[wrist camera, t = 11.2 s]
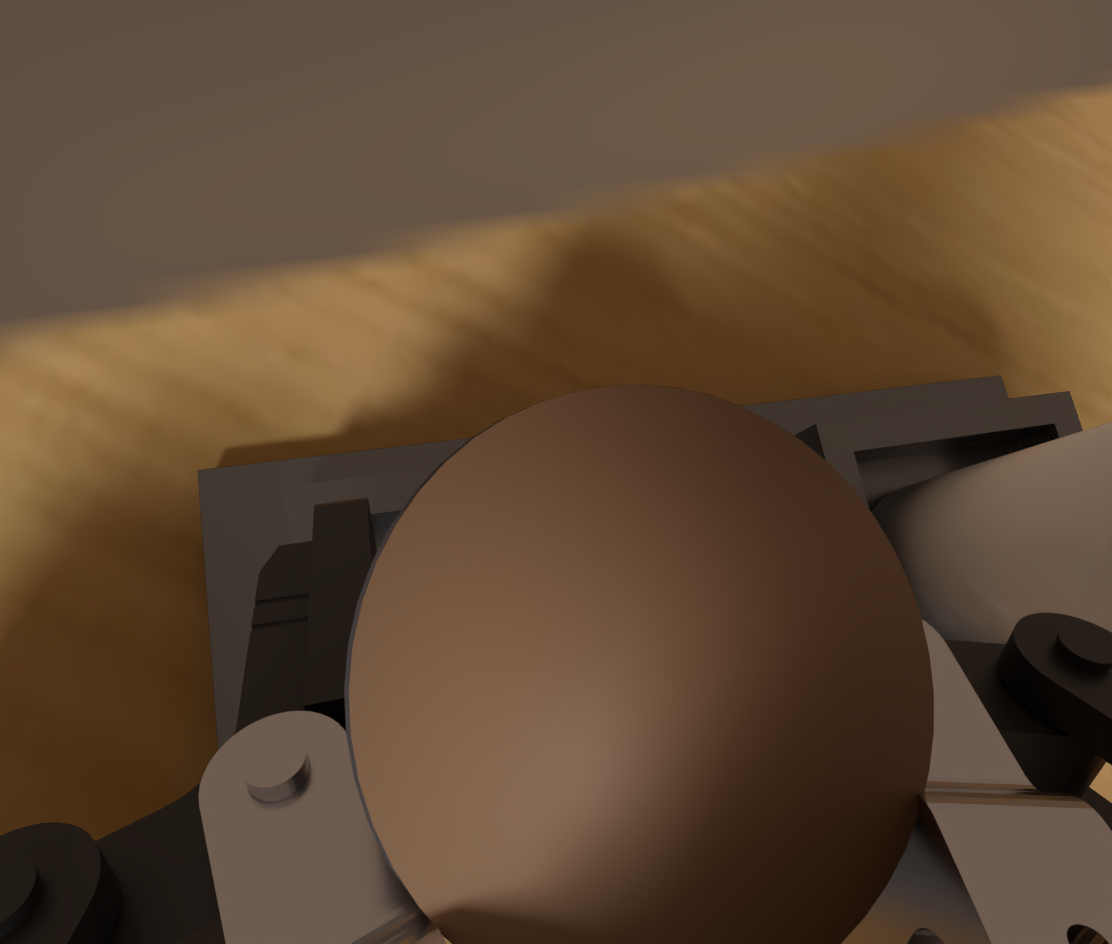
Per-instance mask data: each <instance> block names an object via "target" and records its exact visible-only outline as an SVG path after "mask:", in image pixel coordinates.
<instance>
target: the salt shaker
mask: <svg viewBox="0 0 1112 944" xmlns="http://www.w3.org/2000/svg"><path fill="white" fill-rule="evenodd" d="M871 513H872V514H873V515H874V517H875V518H876V520H877V522H878V523H879V525H880V527H881V528H882V530H883V531H884V533H885V535H886V536H887V538H888V540H889V541H890V543H891V545H892V546H893V548H894V550H895V552H896V554H897V556H898V559H899V561H900V563H901V565H902V567H903V569H904V572H905V574H906V576H907V578H908V580H909V582H910V585H911V588H912V591H913V594H914V597H915V600H916V603H917V606H918V609H919V612H920V615H921V618H922V620H924V621H925V622H927V623H928V624H929V625H930V626H932V627H933V628H934V629H935V630H936V631H937V632H938V633H939V634H940V635H941V637H942V638H943V639H944V640H956V641H970V642H984V643H998V644H1006V643H1007V641H1008V639H1009V637H1010V635H1011V633H1012V631H1013V629H1014V627H1015V625H1016V623H1017V622H1018V621H1019V620H1020V619H1021V618H1023V617H1025V616H1027V615H1031V614H1035V613H1057V614H1064V615H1068V616H1073V617H1077V618H1080V619H1083V620H1086V621H1088V622H1091V623H1093V624H1096V625H1098V626H1100V627H1102V628H1104V629H1106V630H1108V631H1110V632H1112V422H1110V423H1107V424H1103V425H1100V426H1097V427H1094V428H1091V429H1087V430H1084V431H1081V432H1078V433H1074V434H1071V435H1068V436H1065V437H1062V438H1058V439H1055V440H1052V441H1049V442H1046V443H1042V444H1039V445H1036V446H1033V447H1030V448H1026V449H1023V450H1020V451H1017V452H1014V453H1010V454H1007V455H1004V456H1001V457H997V458H994V459H991V460H988V461H985V462H981V463H978V464H975V465H972V466H969V467H965V468H962V469H959V470H956V471H953V472H949V473H946V474H943V475H940V476H937V477H933V478H930V479H927V480H924V481H920V482H917V483H914V484H911V485H908V486H904V487H902V488H899V489H897V490H895V491H893V492H891V493H890V494H888V495H887V496H886V497H884V498H883V499H882V500H881V501H880V502H879V503H878V504H877V505H876V507H875V508H874V509H873V511H872V512H871Z"/></svg>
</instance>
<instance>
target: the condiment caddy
mask: <svg viewBox="0 0 1112 944" xmlns="http://www.w3.org/2000/svg"><path fill="white" fill-rule="evenodd" d="M742 407H744V408H746V409H748V410H750V411H752V412H754V413H756V414H758V415H760V416H762V417H764V418H766V419H768V420H770V421H772V422H774V423H775V424H777V425H778V426H780V427H781V428H783V429H784V430H786V431H787V432H789V433H790V434H792V435H794V436H795V437H797V438H798V439H800V440H801V441H802V442H804V443H805V444H806V445H807V446H809V447H810V448H811V449H812V450H813V451H815V452H816V453H817V454H818V455H819V456H821V457H822V458H823V459H824V460H825V461H827V462H828V463H829V464H830V465H831V466H832V467H833V468H834V469H835V470H836V471H837V472H838V474H839V475H840V476H841V477H842V478H843V479H844V480H845V481H846V482H847V483H848V484H849V485H850V486H851V487H852V488H853V489H854V491H855V492H856V493H857V495H858V496H859V497H860V498H861V500H862V501H863V502H864V504H865V505H866V506H867V508H868V509H869V510H870V512H872V511H873V509H874V508H875V507H876V505H877V504H878V503H879V502H880V501H881V500H882V499H883V498H884V497H886V496H887V495H888V494H890V493H891V492H893V491H895V490H897V489H899V488H902V487H904V486H908V485H911V484H914V483H917V482H920V481H924V480H927V479H930V478H933V477H937V476H940V475H943V474H946V473H949V472H953V471H956V470H959V469H962V468H965V467H969V466H972V465H975V464H978V463H981V462H985V461H988V460H991V459H994V458H997V457H1001V456H1004V455H1007V454H1010V453H1014V452H1017V451H1020V450H1023V449H1026V448H1030V447H1033V446H1036V445H1039V444H1042V443H1046V442H1049V441H1052V440H1055V439H1058V438H1062V437H1065V436H1068V435H1071V434H1074V433H1078V432H1081V431H1083V430H1082V427H1081V424H1080V421H1079V418H1078V415H1077V412H1076V409H1075V406H1074V403H1073V400H1072V398H1071V395H1070V392H1069V391H1067V392H1059V393H1051V394H1043V395H1036V396H1028V397H1020V398H1012V399H1008V396H1007V393H1006V390H1005V387H1004V383H1003V380H1002V377H1001V375H1000V376H992V377H983V378H975V379H966V380H958V381H949V382H941V383H932V384H924V385H915V386H907V387H898V388H890V389H881V390H873V391H865V392H856V393H848V394H839V395H831V396H822V397H814V398H805V399H797V400H788V401H780V402H771V403H763V404H755V405H746V406H742ZM469 439H471V438H467V439H458V440H450V441H441V442H433V443H424V444H416V445H408V446H399V447H391V448H382V449H374V450H365V451H357V452H348V453H340V454H331V455H323V456H314V457H306V458H298V459H289V460H281V461H272V462H264V463H255V464H247V465H238V466H230V467H221V468H213V469H204V470H198V483H199V496H200V510H201V524H202V537H203V551H204V564H205V578H206V591H207V605H208V618H209V632H210V646H211V659H212V673H213V686H214V700H215V713H216V727H217V740H218V750H219V749H220V748H221V747H222V746H223V745H224V744H225V743H226V742H227V741H228V740H229V739H230V738H231V737H233V736H234V733H235V729H236V725H237V718H238V712H239V705H240V698H241V691H242V684H243V678H244V671H245V664H246V657H247V651H248V644H249V637H250V631H252V626H251V623H252V617H253V610H254V607H255V596H256V590H257V583H258V576H259V572H260V570H261V569H262V568H263V566H264V565H265V564H266V562H267V561H268V560H269V558H270V557H271V556H272V554H273V553H274V552H275V550H276V549H277V547H278V546H279V545H286V544H293V543H300V542H307V541H312V534H313V514H314V505H315V504H322V503H330V502H337V501H345V500H352V499H360V498H368V501H369V506H370V511H371V517H372V524H373V530H374V536H375V542H376V548H377V551H378V549H379V547H380V545H381V543H382V542H383V540H384V538H385V536H386V534H387V532H388V530H389V528H390V526H391V525H392V523H393V522H394V520H395V519H396V517H397V516H398V515H399V513H400V512H401V510H402V509H403V507H404V506H405V504H406V503H407V502H408V500H409V499H410V497H411V496H412V494H413V493H414V492H415V491H416V490H417V489H418V488H419V486H420V485H421V484H422V483H423V482H424V481H425V480H426V479H427V478H428V477H429V475H430V474H431V473H432V472H433V471H434V470H435V469H436V468H437V467H438V466H439V464H441V463H442V462H443V461H444V460H445V459H447V458H448V457H449V456H450V455H451V454H453V453H454V452H455V451H456V450H457V449H458V448H460V447H461V446H462V445H463V444H464V443H466V442H467V441H468V440H469Z"/></svg>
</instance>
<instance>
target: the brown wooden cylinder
mask: <svg viewBox="0 0 1112 944" xmlns="http://www.w3.org/2000/svg"><path fill="white" fill-rule="evenodd" d="M344 697H345V720H346V736H347V742H348V747H349V753H350V759H351V764H352V770H353V776H354V780H355V783H356V786H357V789H358V793H359V796H360V799H361V802H362V805H363V808H364V811H365V815H366V818H367V821H368V823H369V825H370V828H371V830H372V832H373V834H374V836H375V838H376V840H377V842H378V844H379V846H380V849H381V851H382V853H383V855H384V857H385V859H386V861H387V863H388V865H389V866H390V868H391V869H392V871H393V872H394V874H395V876H396V877H397V879H398V880H399V882H400V883H401V885H402V886H403V888H404V889H405V891H406V892H407V894H408V895H409V897H410V898H411V900H412V901H413V903H414V904H415V905H416V906H417V907H418V908H419V909H420V910H421V912H422V913H423V914H424V915H425V916H426V917H428V918H429V919H430V920H431V921H432V922H433V923H434V925H437V927H438V928H439V930H440V932H441V934H442V935H443V936H444V937H445V938H446V939H447V940H449V941H450V942H451V943H452V944H841V943H842V942H843V941H844V940H845V939H846V938H847V937H848V935H849V934H850V933H851V932H852V931H853V930H854V929H855V928H856V927H857V925H858V924H859V923H860V922H861V921H862V920H863V919H864V918H865V917H866V915H867V914H868V912H869V911H870V909H871V908H872V906H873V905H874V903H875V902H876V901H877V899H878V898H879V896H880V895H881V893H882V892H883V890H884V889H885V887H886V886H887V884H888V883H889V881H890V879H891V877H892V875H893V873H894V871H895V869H896V867H897V865H898V863H899V861H900V859H901V857H902V856H903V854H904V852H905V850H906V848H907V845H908V842H909V840H910V837H911V834H912V831H913V829H914V826H915V823H916V820H917V818H918V815H919V807H918V796H917V793H922V792H925V788H926V783H927V779H928V775H929V770H930V761H931V752H932V744H933V735H934V690H933V681H932V671H931V662H930V654H929V649H928V645H927V640H926V636H925V631H924V627H923V622H922V618H921V615H920V612H919V609H918V606H917V603H916V600H915V597H914V594H913V591H912V588H911V585H910V582H909V580H908V578H907V576H906V574H905V572H904V569H903V567H902V565H901V563H900V561H899V559H898V556H897V554H896V552H895V550H894V548H893V546H892V545H891V543H890V541H889V540H888V538H887V536H886V535H885V533H884V531H883V530H882V528H881V527H880V525H879V523H878V522H877V520H876V518H875V517H874V515H873V514H872V513H871V512H870V510H869V509H868V508H867V506H866V505H865V504H864V502H863V501H862V500H861V498H860V497H859V496H858V495H857V493H856V492H855V491H854V489H853V488H852V487H851V486H850V485H849V484H848V483H847V482H846V481H845V480H844V479H843V478H842V477H841V476H840V475H839V474H838V472H837V471H836V470H835V469H834V468H833V467H832V466H831V465H830V464H829V463H828V462H827V461H825V460H824V459H823V458H822V457H821V456H819V455H818V454H817V453H816V452H815V451H813V450H812V449H811V448H810V447H809V446H807V445H806V444H805V443H804V442H802V441H801V440H800V439H798V438H797V437H795V436H794V435H792V434H790V433H789V432H787V431H786V430H784V429H783V428H781V427H780V426H778V425H777V424H775V423H774V422H772V421H770V420H768V419H766V418H764V417H762V416H760V415H758V414H756V413H754V412H752V411H750V410H748V409H746V408H744V407H742V406H739V405H736V404H733V403H730V402H727V401H725V400H722V399H719V398H716V397H713V396H710V395H707V394H702V393H697V392H693V391H688V390H684V389H679V388H673V387H661V386H650V385H623V386H605V387H599V388H593V389H587V390H582V391H576V392H571V393H568V394H565V395H561V396H558V397H555V398H552V399H549V400H545V401H542V402H539V403H537V404H534V405H531V406H529V407H527V408H525V409H523V410H521V411H519V412H516V413H514V414H512V415H510V416H508V417H506V418H504V419H501V420H499V421H498V422H496V423H494V424H493V425H491V426H490V427H488V428H487V429H485V430H484V431H482V432H480V433H479V434H477V435H476V436H474V437H473V438H471V439H469V440H468V441H467V442H466V443H464V444H463V445H462V446H461V447H460V448H458V449H457V450H456V451H455V452H454V453H453V454H451V455H450V456H449V457H448V458H447V459H445V460H444V461H443V462H442V463H441V464H439V466H438V467H437V468H436V469H435V470H434V471H433V472H432V473H431V474H430V475H429V477H428V478H427V479H426V480H425V481H424V482H423V483H422V484H421V485H420V486H419V488H418V489H417V490H416V491H415V492H414V493H413V494H412V496H411V497H410V499H409V500H408V502H407V503H406V504H405V506H404V507H403V509H402V510H401V512H400V513H399V515H398V516H397V517H396V519H395V520H394V522H393V523H392V525H391V526H390V528H389V530H388V532H387V534H386V536H385V538H384V540H383V542H382V543H381V545H380V547H379V549H378V551H377V553H376V555H375V557H374V559H373V561H372V563H371V566H370V569H369V571H368V574H367V577H366V580H365V582H364V585H363V588H362V591H361V593H360V596H359V599H358V602H357V606H356V610H355V615H354V620H353V624H352V629H351V633H350V638H349V642H348V650H347V662H346V673H345V685H344Z"/></svg>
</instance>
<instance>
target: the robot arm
mask: <svg viewBox="0 0 1112 944" xmlns="http://www.w3.org/2000/svg"><path fill="white" fill-rule="evenodd" d="M376 553H377V548H376V542H375V536H374V530H373V524H372V517H371V511H370V506H369V501H368V498H360V499H352V500H345V501H337V502H330V503H322V504H315V505H314V514H313V534H312V541H307V542H300V543H293V544H286V545H279V546H278V547H277V549H276V550H275V552H274V553H273V554H272V556H271V557H270V558H269V560H268V561H267V562H266V564H265V565H264V566H263V568H262V569H261V570H260V572H259V576H258V583H257V590H256V596H255V607H254V610H253V617H252V623H251V626H252V631H250V637H249V644H248V651H247V657H246V664H245V671H244V678H243V684H242V691H241V698H240V705H239V712H238V718H237V725H236V729H235V733H234V736H233V737H231V738H230V739H229V740H228V741H227V742H226V743H225V744H224V745H223V746H222V747H221V748H220V749H219V750H218V751H217V753H216V754H215V755H214V757H213V758H212V759H211V761H210V762H209V764H208V766H207V768H206V770H205V772H204V774H203V777H202V780H201V783H199V784H198V785H197V786H196V787H195V788H193V789H192V790H191V791H190V792H188V793H187V794H186V795H184V796H183V797H181V798H180V799H178V800H177V801H175V802H173V803H171V804H170V805H168V806H166V807H164V808H162V809H161V810H159V811H156V812H154V813H152V814H150V815H148V816H146V817H144V818H142V819H140V820H138V821H136V822H134V823H132V824H130V825H128V826H126V827H124V828H122V829H120V830H118V831H116V832H114V833H111V834H109V835H107V836H105V837H103V838H101V839H99V840H97V841H94V839H93V838H92V837H91V836H90V834H88V833H87V832H86V831H84V830H83V829H81V828H79V827H76V826H74V825H71V824H65V823H41V824H36V825H31V826H27V827H23V828H20V829H17V830H14V831H11V832H9V833H7V834H4V835H2V836H0V944H446V942H445V940H444V938H443V936H442V934H441V932H440V930H439V928H438V927H437V925H434V923H433V922H432V921H431V920H430V919H429V918H428V917H426V916H425V915H424V914H423V913H422V912H421V910H420V909H419V908H418V907H417V906H416V905H415V904H414V903H413V901H412V900H411V898H410V897H409V895H408V894H407V892H406V891H405V889H404V888H403V886H402V885H401V883H400V882H399V880H398V879H397V877H396V876H395V874H394V872H393V871H392V869H391V868H390V866H389V865H388V863H387V861H386V859H385V857H384V855H383V853H382V851H381V849H380V846H379V844H378V842H377V840H376V838H375V836H374V834H373V832H372V830H371V828H370V825H369V823H368V821H367V818H366V815H365V811H364V808H363V805H362V802H361V799H360V796H359V793H358V789H357V786H356V783H355V780H354V776H353V770H352V764H351V759H350V753H349V747H348V742H347V736H346V720H345V697H344V685H345V673H346V662H347V650H348V642H349V638H350V633H351V629H352V624H353V620H354V615H355V610H356V606H357V602H358V599H359V596H360V593H361V591H362V588H363V585H364V582H365V580H366V577H367V574H368V571H369V569H370V566H371V563H372V561H373V559H374V557H375V555H376ZM922 622H923V627H924V631H925V636H926V640H927V645H928V649H929V654H930V662H931V671H932V681H933V690H934V735H933V744H932V752H931V761H930V770H929V775H928V779H927V783H926V788H925V792H922V793H917V796H918V807H919V815H918V818H917V820H916V823H915V826H914V829H913V831H912V834H911V837H910V840H909V842H908V845H907V848H906V850H905V852H904V854H903V856H902V857H901V859H900V861H899V863H898V865H897V867H896V869H895V871H894V873H893V875H892V877H891V879H890V881H889V883H888V884H887V886H886V887H885V889H884V890H883V892H882V893H881V895H880V896H879V898H878V899H877V901H876V902H875V903H874V905H873V906H872V908H871V909H870V911H869V912H868V914H867V915H866V917H865V918H864V919H863V920H862V921H861V922H860V923H859V924H858V925H857V927H856V928H855V929H854V930H853V931H852V932H851V933H850V934H849V935H848V937H847V938H846V939H845V940H844V941H843V942H842V943H841V944H1112V803H1110V802H1109V801H1108V800H1106V799H1105V798H1103V797H1102V796H1101V795H1099V794H1098V793H1097V792H1095V791H1094V790H1092V789H1091V788H1090V787H1089V786H1090V784H1091V783H1092V782H1093V780H1094V779H1095V777H1096V776H1097V774H1098V773H1099V772H1100V770H1101V769H1102V767H1103V766H1104V764H1105V763H1106V762H1108V763H1109V764H1111V765H1112V632H1110V631H1108V630H1106V629H1104V628H1102V627H1100V626H1098V625H1096V624H1093V623H1091V622H1088V621H1086V620H1083V619H1080V618H1077V617H1073V616H1068V615H1064V614H1057V613H1035V614H1031V615H1027V616H1025V617H1023V618H1021V619H1020V620H1019V621H1018V622H1017V623H1016V625H1015V627H1014V629H1013V631H1012V633H1011V635H1010V637H1009V639H1008V641H1007V643H1006V644H998V643H984V642H970V641H956V640H944V639H943V638H942V637H941V635H940V634H939V633H938V632H937V631H936V630H935V629H934V628H933V627H932V626H930V625H929V624H928V623H927V622H925V621H924V620H922Z"/></svg>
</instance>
